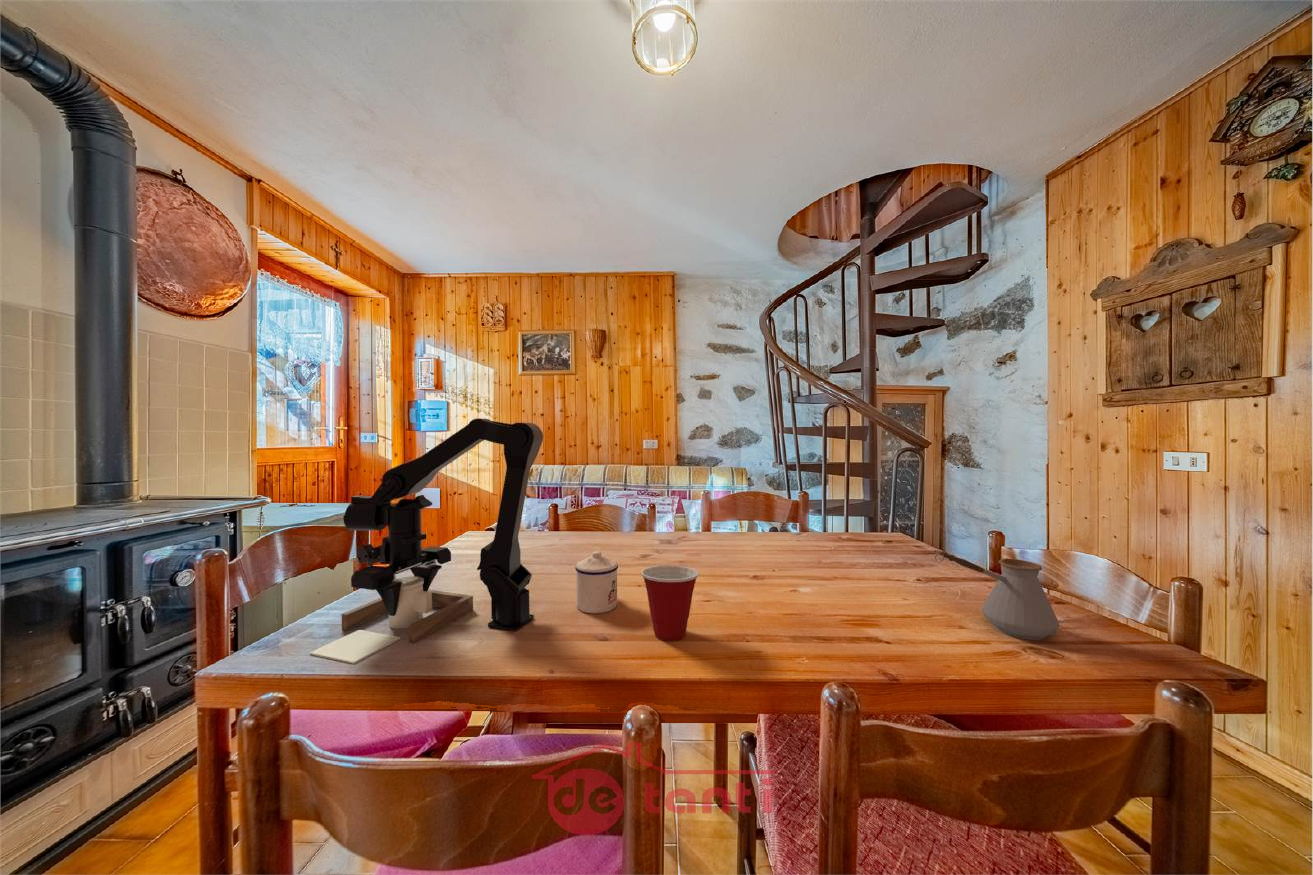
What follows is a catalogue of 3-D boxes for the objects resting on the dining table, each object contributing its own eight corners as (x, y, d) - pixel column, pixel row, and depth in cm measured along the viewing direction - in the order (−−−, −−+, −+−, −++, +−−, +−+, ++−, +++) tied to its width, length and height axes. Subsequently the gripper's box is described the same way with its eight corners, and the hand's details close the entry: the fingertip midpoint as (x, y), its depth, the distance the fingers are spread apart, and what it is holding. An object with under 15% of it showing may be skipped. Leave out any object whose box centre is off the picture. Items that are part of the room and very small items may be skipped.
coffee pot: (1024, 618, 92) (1026, 544, 91) (1076, 645, 80) (1079, 561, 80) (918, 617, 92) (919, 543, 91) (955, 644, 80) (956, 561, 80)
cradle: (473, 609, 95) (473, 595, 95) (414, 643, 81) (414, 626, 80) (408, 600, 100) (407, 586, 100) (341, 629, 86) (341, 614, 86)
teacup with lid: (617, 614, 93) (617, 558, 93) (573, 615, 92) (573, 558, 92) (618, 592, 105) (618, 542, 105) (579, 593, 104) (578, 543, 104)
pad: (400, 638, 82) (400, 637, 82) (353, 663, 74) (353, 662, 74) (359, 631, 85) (358, 629, 85) (309, 654, 77) (309, 652, 77)
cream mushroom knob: (379, 626, 87) (378, 585, 87) (406, 613, 93) (406, 574, 93) (416, 632, 85) (415, 590, 84) (441, 618, 91) (441, 579, 90)
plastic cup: (697, 621, 90) (697, 561, 89) (700, 648, 79) (701, 580, 79) (642, 620, 90) (642, 560, 90) (638, 647, 79) (638, 579, 79)
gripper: (411, 518, 100) (412, 588, 101) (327, 538, 82) (329, 623, 83) (452, 521, 97) (453, 594, 97) (374, 543, 79) (375, 631, 79)
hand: (406, 609), depth 89 cm, fingers closed on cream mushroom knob, 6 cm apart
